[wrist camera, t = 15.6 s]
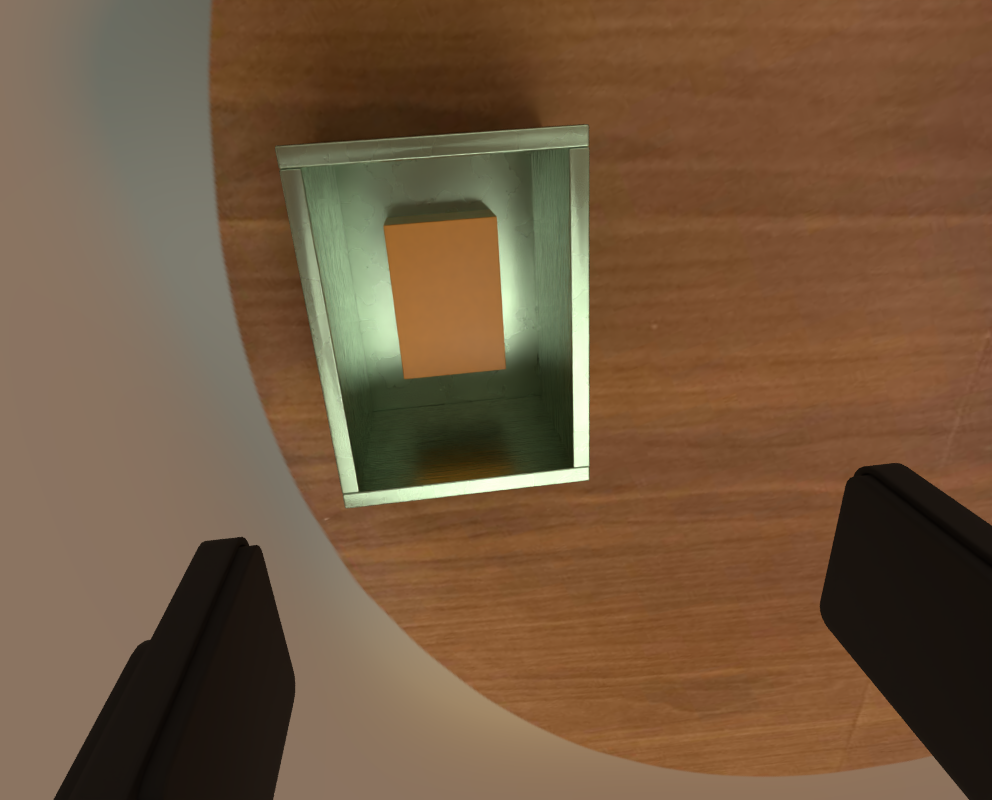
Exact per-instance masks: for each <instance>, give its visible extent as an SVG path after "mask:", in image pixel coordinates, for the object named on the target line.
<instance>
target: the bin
mask: <svg viewBox="0 0 992 800" xmlns="http://www.w3.org/2000/svg"><path fill="white" fill-rule="evenodd" d="M588 146H589V125H588V124H580V125H562V126H545V127H530V128H516V129H501V130H487V131H473V132H458V133H444V134H430V135H415V136H401V137H386V138H372V139H358V140H343V141H329V142H315V143H303V144H291V145H279V146H275V151H276V156H277V161H278V166H279V168H280V169H281V170H280V171H279V172H280V177H281V182H282V187H283V192H284V197H285V202H286V207H287V213H288V218H289V223H290V228H291V233H292V238H293V243H294V248H295V254H296V259H297V264H298V269H299V274H300V279H301V284H302V289H303V295H304V300H305V305H306V310H307V315H308V320H309V325H310V330H311V335H312V341H313V346H314V351H315V356H316V361H317V366H318V371H319V376H320V382H321V387H322V392H323V397H324V402H325V407H326V412H327V417H328V423H329V428H330V433H331V438H332V443H333V448H334V453H335V458H336V464H337V469H338V474H339V479H340V484H341V489H342V493H343V499H344V504H345V508H354V507H363V506H372V505H380V504H389V503H398V502H406V501H415V500H424V499H432V498H441V497H449V496H458V495H467V494H475V493H484V492H493V491H501V490H510V489H519V488H527V487H536V486H544V485H553V484H562V483H570V482H579V481H588V480H589V479H590V467H589V465H590V344H589V147H588ZM488 209H490V210H491V211H492V212H493V213H494V214H495V215H496V216H497V227H498V244H499V260H500V277H501V293H502V310H503V326H504V343H505V359H506V369H503V370H493V371H483V372H473V373H463V374H453V375H443V376H433V377H423V378H413V379H404V376H403V369H402V361H401V354H400V346H399V339H398V331H397V324H396V317H395V309H394V302H393V294H392V287H391V279H390V272H389V265H388V257H387V250H386V242H385V235H384V227H383V226H384V223H385V221H386V218H388V217H400V216H413V215H425V214H438V213H450V212H463V211H475V210H488Z"/></svg>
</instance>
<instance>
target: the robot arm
mask: <svg viewBox="0 0 992 800" xmlns="http://www.w3.org/2000/svg"><path fill="white" fill-rule="evenodd" d="M820 612H821V615H822V618H823V620H824V623H825V624H826V626H827V627H828V629H829V630H830V631H831V632H832V633H833V635H834V636H835V637H836V638H837V640H838V641H839V642H840V643H841V644H842V646H843V647H844V648H845V649H846V650H847V652H848V653H849V654H850V655H851V657H852V658H853V659H854V660H855V661H856V663H857V664H858V665H859V666H860V668H861V669H862V670H863V671H864V672H865V674H866V675H867V676H868V677H869V678H870V680H871V681H872V682H873V683H874V685H875V686H876V687H877V688H878V689H879V691H880V692H881V693H882V694H883V695H884V697H885V698H886V699H887V700H888V702H889V703H890V704H891V705H892V706H893V708H894V709H895V710H896V711H897V713H898V714H899V715H900V716H901V717H902V719H903V720H904V721H905V722H906V723H907V725H908V726H909V727H910V728H911V730H912V731H913V732H914V733H915V734H916V736H917V737H918V738H919V739H920V741H921V742H922V743H923V744H924V745H925V747H926V748H927V749H928V750H929V751H930V753H931V754H932V755H933V756H934V758H935V759H936V760H937V761H938V762H939V764H940V765H941V766H942V767H943V768H944V770H945V771H946V772H947V773H948V774H949V776H950V777H951V778H952V779H953V781H954V782H955V783H956V784H957V786H958V787H959V788H960V789H961V790H962V791H963V793H964V794H965V795H966V796H967V798H968V799H969V800H992V526H991V525H990V524H989V523H987V522H986V521H984V520H983V519H981V518H980V517H978V516H977V515H976V514H974V513H973V512H971V511H970V510H968V509H967V508H965V507H964V506H963V505H961V504H960V503H958V502H957V501H955V500H954V499H953V498H951V497H950V496H948V495H947V494H945V493H944V492H942V491H941V490H940V489H938V488H937V487H935V486H934V485H932V484H931V483H929V482H928V481H927V480H925V479H924V478H922V477H921V476H919V475H918V474H916V473H915V472H914V471H912V470H911V469H909V468H908V467H906V466H904V465H902V464H900V463H891V464H882V465H873V466H864V467H861V468H859V469H858V470H857V471H856V472H855V474H854V477H852V478H850V479H849V480H848V481H847V483H846V486H845V491H844V495H843V500H842V505H841V509H840V514H839V518H838V523H837V528H836V532H835V537H834V541H833V546H832V550H831V555H830V560H829V564H828V569H827V573H826V578H825V582H824V587H823V592H822V596H821V601H820ZM294 697H295V676H294V671H293V667H292V663H291V660H290V656H289V652H288V648H287V644H286V641H285V637H284V633H283V629H282V625H281V622H280V618H279V614H278V610H277V607H276V603H275V599H274V595H273V591H272V587H271V584H270V580H269V576H268V572H267V568H266V564H265V561H264V557H263V553H262V550H261V548H260V547H259V546H258V545H253V546H249V544H248V542H247V540H246V539H245V538H243V537H237V538H229V539H220V540H211V541H204V542H202V543H201V544H200V546H199V547H198V549H197V551H196V553H195V555H194V557H193V559H192V561H191V563H190V565H189V567H188V569H187V570H186V572H185V574H184V576H183V578H182V580H181V582H180V584H179V586H178V588H177V590H176V592H175V594H174V596H173V598H172V599H171V602H170V603H169V605H168V607H167V609H166V611H165V613H164V615H163V617H162V619H161V621H160V623H159V625H158V627H157V628H156V630H155V632H154V634H153V636H152V638H151V640H147V641H144V642H143V643H141V644H140V645H138V646H137V648H136V649H135V651H134V652H133V654H132V655H131V657H130V658H129V661H128V662H127V664H126V666H125V668H124V670H123V671H122V673H121V675H120V677H119V679H118V681H117V683H116V685H115V686H114V688H113V690H112V692H111V694H110V696H109V698H108V699H107V701H106V703H105V705H104V707H103V709H102V711H101V712H100V714H99V716H98V718H97V720H96V722H95V724H94V726H93V728H92V729H91V731H90V733H89V735H88V737H87V738H86V740H85V742H84V744H83V746H82V748H81V750H80V751H79V753H78V755H77V757H76V759H75V761H74V763H73V764H72V766H71V768H70V770H69V772H68V774H67V776H66V778H65V779H64V781H63V783H62V785H61V787H60V789H59V790H58V792H57V794H56V796H55V798H54V800H273V797H274V792H275V788H276V782H277V778H278V773H279V769H280V764H281V759H282V754H283V750H284V745H285V740H286V736H287V731H288V726H289V722H290V717H291V712H292V708H293V703H294Z"/></svg>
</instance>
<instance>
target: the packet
mask: <svg viewBox="0 0 992 800" xmlns="http://www.w3.org/2000/svg"><path fill="white" fill-rule="evenodd" d="M383 227H384V235H385V242H386V250H387V257H388V265H389V272H390V279H391V287H392V294H393V302H394V309H395V317H396V324H397V331H398V339H399V346H400V354H401V361H402V369H403V376H404V379H413V378H423V377H433V376H443V375H453V374H463V373H473V372H483V371H493V370H503V369H506V359H505V343H504V326H503V310H502V293H501V277H500V260H499V244H498V227H497V216H496V215H495V214H494V213H493V212H492V211H491V210H490V209H488V210H475V211H463V212H450V213H438V214H425V215H413V216H400V217H388V218H386V221H385V223H384V226H383Z"/></svg>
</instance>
